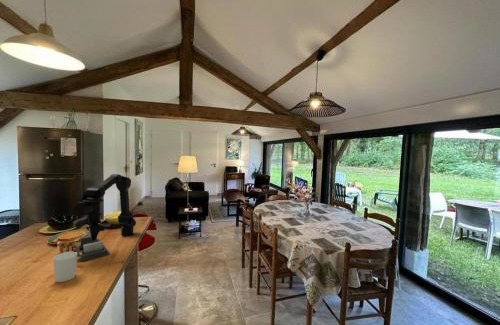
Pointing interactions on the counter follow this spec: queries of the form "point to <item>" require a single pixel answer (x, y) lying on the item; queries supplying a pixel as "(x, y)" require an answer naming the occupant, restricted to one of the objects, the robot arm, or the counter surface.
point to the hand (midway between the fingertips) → (93, 240)
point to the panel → (92, 247)
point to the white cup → (65, 266)
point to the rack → (90, 255)
